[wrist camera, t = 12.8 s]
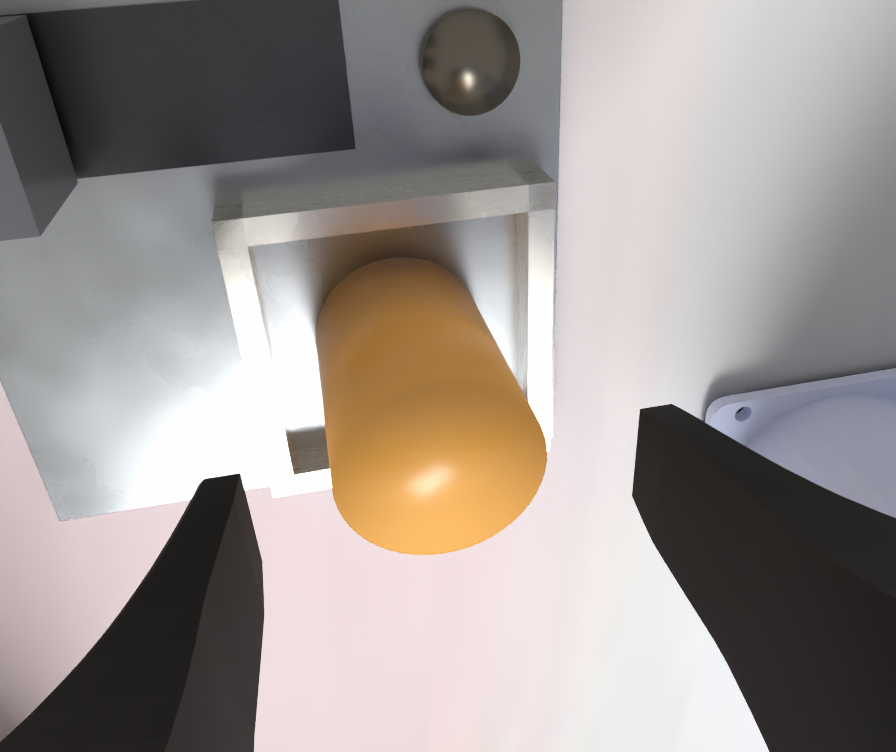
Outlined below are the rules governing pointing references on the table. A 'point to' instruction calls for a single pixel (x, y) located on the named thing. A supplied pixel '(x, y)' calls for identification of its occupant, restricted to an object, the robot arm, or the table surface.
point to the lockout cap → (422, 412)
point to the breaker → (28, 139)
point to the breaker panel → (265, 222)
